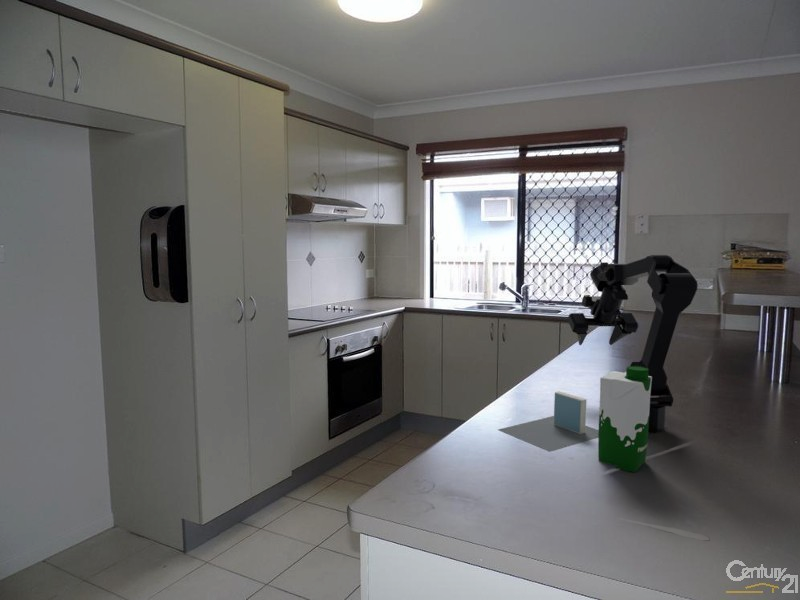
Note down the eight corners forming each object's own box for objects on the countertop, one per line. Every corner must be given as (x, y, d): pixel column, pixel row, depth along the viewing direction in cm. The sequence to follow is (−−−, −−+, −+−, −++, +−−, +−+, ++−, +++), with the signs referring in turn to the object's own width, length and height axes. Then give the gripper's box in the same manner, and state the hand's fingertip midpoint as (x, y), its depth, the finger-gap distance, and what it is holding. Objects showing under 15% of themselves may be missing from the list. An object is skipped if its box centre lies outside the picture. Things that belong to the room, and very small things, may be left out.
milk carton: (638, 475, 106) (643, 374, 104) (591, 463, 112) (595, 367, 109) (651, 461, 113) (656, 366, 110) (606, 451, 118) (610, 359, 116)
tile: (585, 432, 128) (586, 399, 127) (579, 434, 127) (581, 400, 126) (558, 423, 134) (559, 391, 134) (553, 424, 133) (554, 392, 133)
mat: (609, 436, 127) (609, 433, 127) (549, 454, 116) (549, 451, 116) (555, 417, 141) (555, 415, 140) (497, 432, 130) (497, 429, 130)
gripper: (631, 285, 159) (615, 325, 168) (568, 285, 157) (556, 326, 167) (647, 309, 150) (629, 351, 160) (580, 310, 148) (567, 351, 158)
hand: (594, 344), depth 161 cm, fingers open, 9 cm apart
